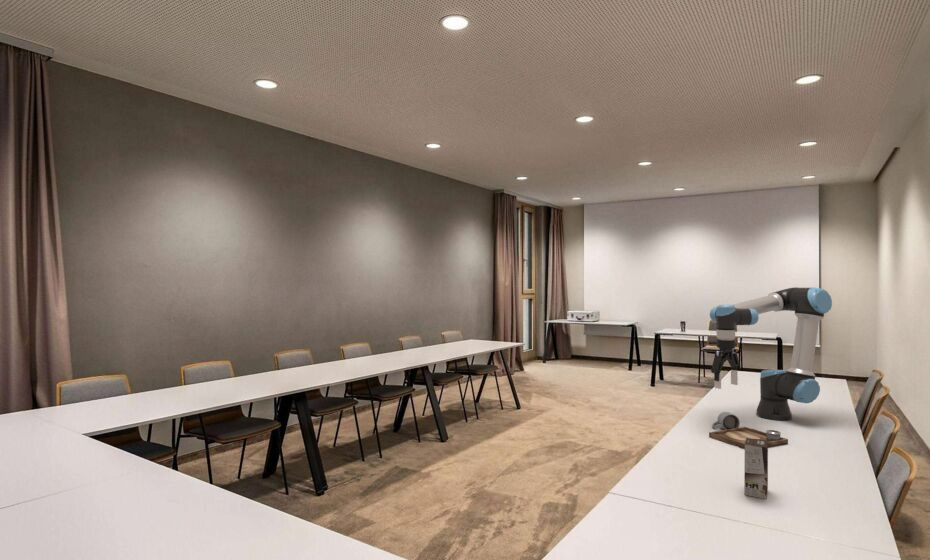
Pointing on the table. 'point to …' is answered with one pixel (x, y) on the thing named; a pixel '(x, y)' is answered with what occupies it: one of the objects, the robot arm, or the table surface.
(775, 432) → the sugar tin
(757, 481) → the coffee box
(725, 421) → the ceramic mug
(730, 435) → the tray
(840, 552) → the table surface
